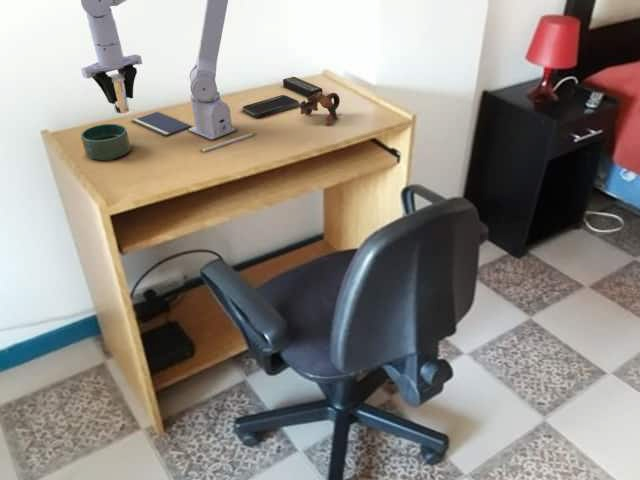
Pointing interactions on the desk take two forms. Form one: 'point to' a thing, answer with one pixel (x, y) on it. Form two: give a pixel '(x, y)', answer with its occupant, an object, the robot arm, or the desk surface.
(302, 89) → the multiport hub
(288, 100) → the phone
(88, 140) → the bowl
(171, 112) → the desk surface
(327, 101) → the brown looped figurine
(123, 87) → the milkshake
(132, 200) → the desk surface
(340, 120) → the desk surface
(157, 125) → the blue notebook
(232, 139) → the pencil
